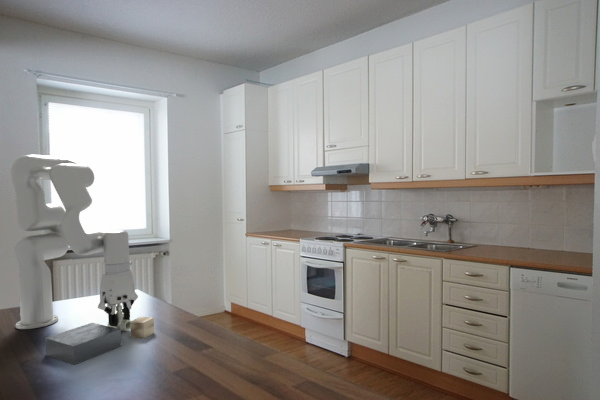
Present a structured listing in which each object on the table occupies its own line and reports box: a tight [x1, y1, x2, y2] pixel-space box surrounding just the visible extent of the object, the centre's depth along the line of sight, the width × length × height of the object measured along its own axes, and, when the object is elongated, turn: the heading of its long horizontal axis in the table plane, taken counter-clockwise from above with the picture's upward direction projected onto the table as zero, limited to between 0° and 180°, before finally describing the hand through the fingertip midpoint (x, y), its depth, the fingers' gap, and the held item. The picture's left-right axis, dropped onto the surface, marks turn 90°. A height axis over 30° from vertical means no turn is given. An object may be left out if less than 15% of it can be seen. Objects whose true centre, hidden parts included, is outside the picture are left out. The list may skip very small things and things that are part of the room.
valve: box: [107, 295, 132, 332], centre depth 129 cm, size 7×7×12 cm
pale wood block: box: [129, 316, 155, 339], centre depth 125 cm, size 5×5×5 cm
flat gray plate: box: [44, 322, 122, 366], centre depth 113 cm, size 14×14×5 cm
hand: (119, 322), depth 129 cm, fingers closed on valve, 4 cm apart
